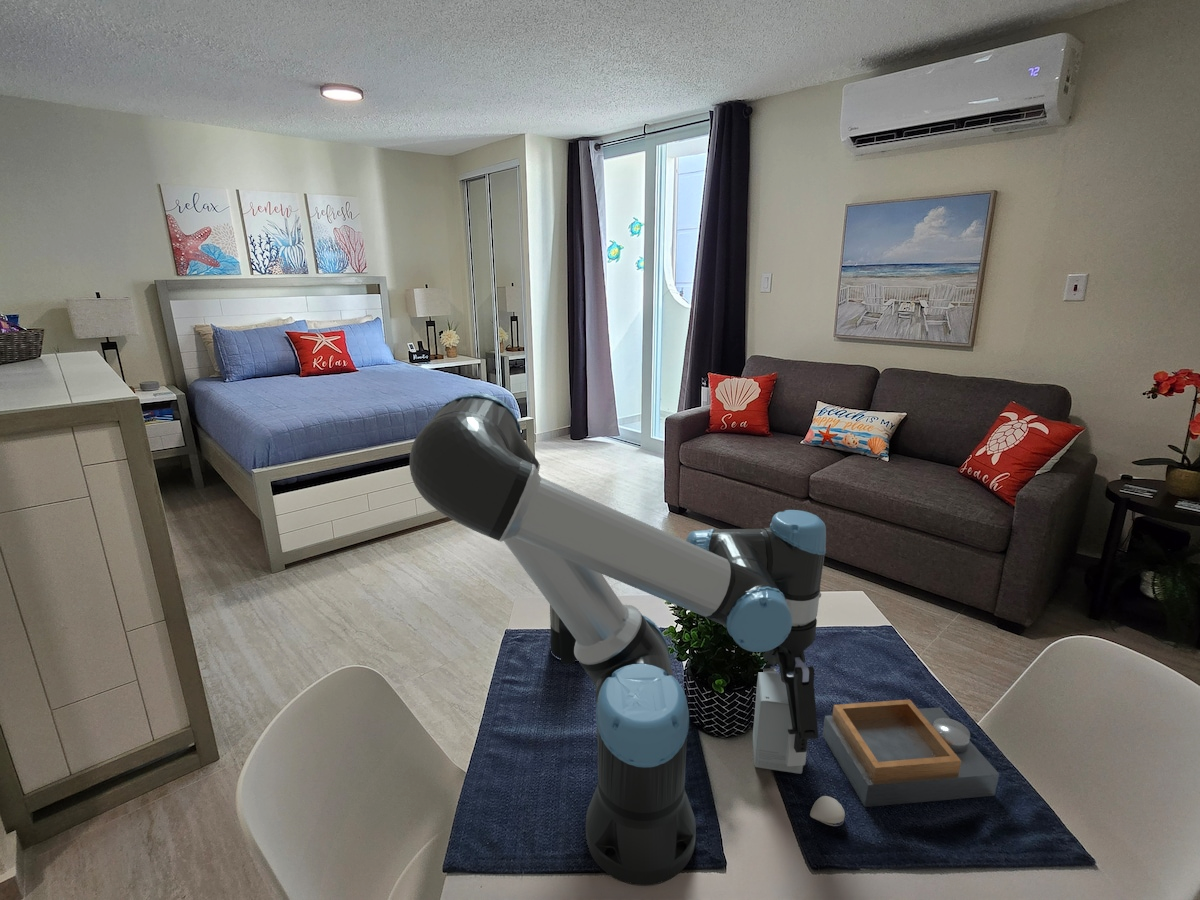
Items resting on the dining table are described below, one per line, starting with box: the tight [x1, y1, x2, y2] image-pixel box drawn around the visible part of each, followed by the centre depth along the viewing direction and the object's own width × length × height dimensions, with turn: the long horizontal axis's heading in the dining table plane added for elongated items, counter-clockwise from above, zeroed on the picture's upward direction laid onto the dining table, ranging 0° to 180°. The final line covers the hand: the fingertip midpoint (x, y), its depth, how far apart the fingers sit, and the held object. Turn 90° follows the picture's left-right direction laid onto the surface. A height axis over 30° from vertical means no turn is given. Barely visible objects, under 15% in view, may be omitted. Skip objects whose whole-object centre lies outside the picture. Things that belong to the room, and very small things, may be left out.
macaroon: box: [809, 795, 846, 827], centre depth 87 cm, size 4×5×2 cm
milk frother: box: [549, 604, 577, 665], centre depth 122 cm, size 14×16×15 cm
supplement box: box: [752, 671, 804, 775], centre depth 97 cm, size 7×7×13 cm
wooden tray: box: [821, 698, 1000, 808], centre depth 96 cm, size 20×14×6 cm
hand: (778, 731), depth 97 cm, fingers open, 12 cm apart
